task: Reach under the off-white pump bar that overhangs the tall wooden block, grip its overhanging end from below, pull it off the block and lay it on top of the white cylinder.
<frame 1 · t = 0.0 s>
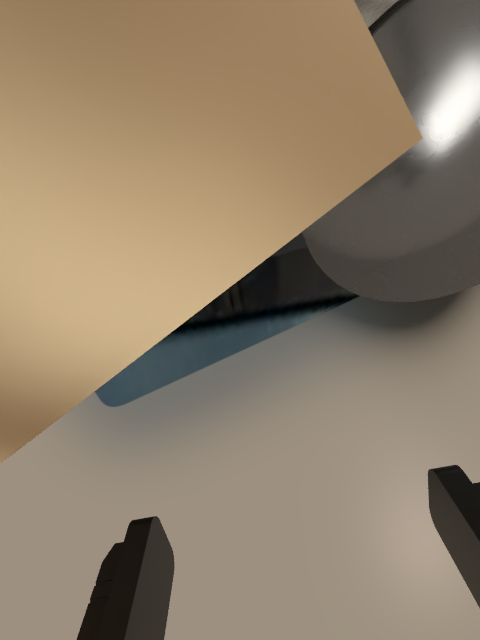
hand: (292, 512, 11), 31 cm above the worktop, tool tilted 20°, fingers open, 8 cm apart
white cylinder: (320, 67, 30), on the worktop
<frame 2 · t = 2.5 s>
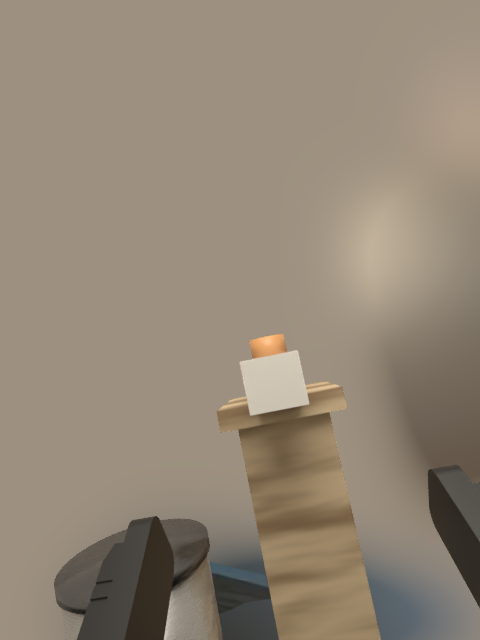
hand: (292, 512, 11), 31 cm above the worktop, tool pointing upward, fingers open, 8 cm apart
pump bar: (278, 397, 37), point 32 cm above the worktop, touching tall wooden block
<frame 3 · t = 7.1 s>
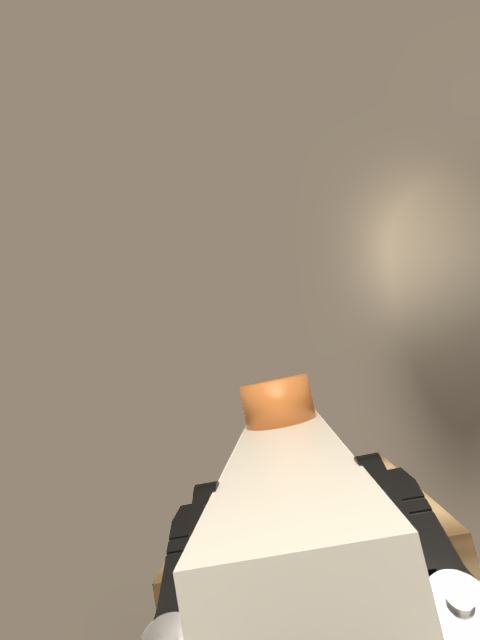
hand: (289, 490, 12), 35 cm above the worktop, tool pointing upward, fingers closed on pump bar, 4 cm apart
pump bar: (302, 534, 16), point 32 cm above the worktop, touching gripper, tall wooden block
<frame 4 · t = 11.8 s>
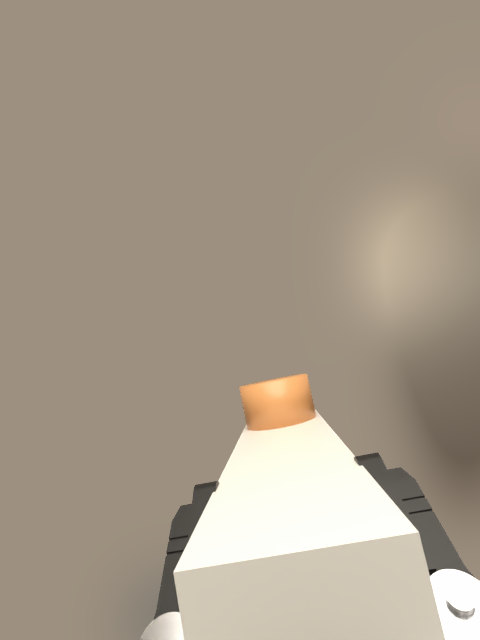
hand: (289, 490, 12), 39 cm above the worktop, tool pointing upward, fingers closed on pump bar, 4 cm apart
pump bar: (302, 534, 16), point 36 cm above the worktop, touching gripper
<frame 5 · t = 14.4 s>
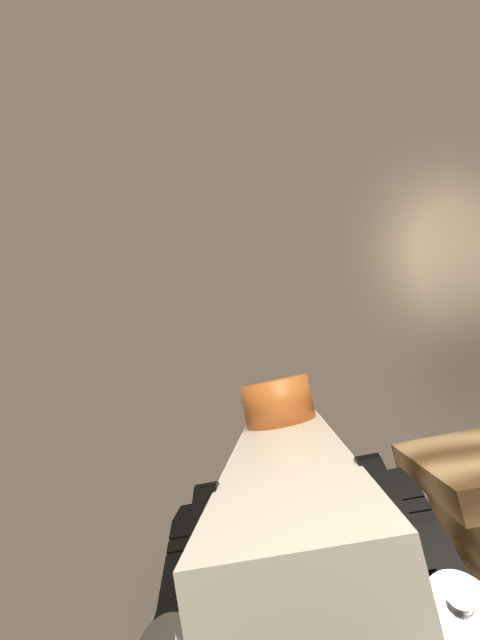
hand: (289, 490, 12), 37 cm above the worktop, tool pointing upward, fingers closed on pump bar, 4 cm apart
pump bar: (302, 534, 16), point 34 cm above the worktop, touching gripper
when the fingers open (27 cm above the worktop, at t = 16.8 s): pump bar drops 2 cm, resting on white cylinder.
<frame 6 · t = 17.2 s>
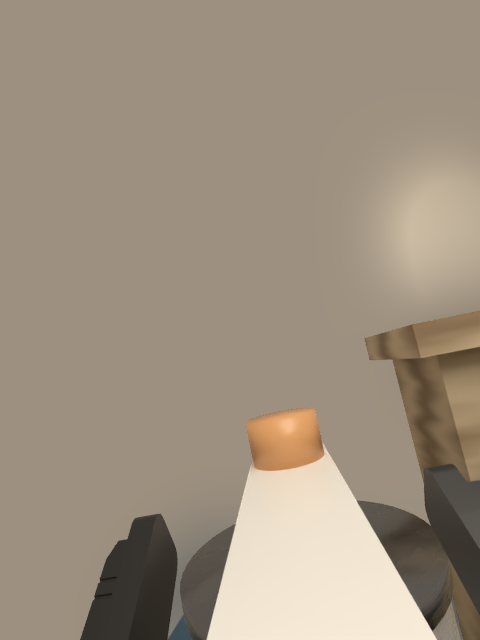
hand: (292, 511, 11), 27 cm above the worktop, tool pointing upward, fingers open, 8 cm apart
pump bar: (313, 588, 15), point 22 cm above the worktop, touching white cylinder
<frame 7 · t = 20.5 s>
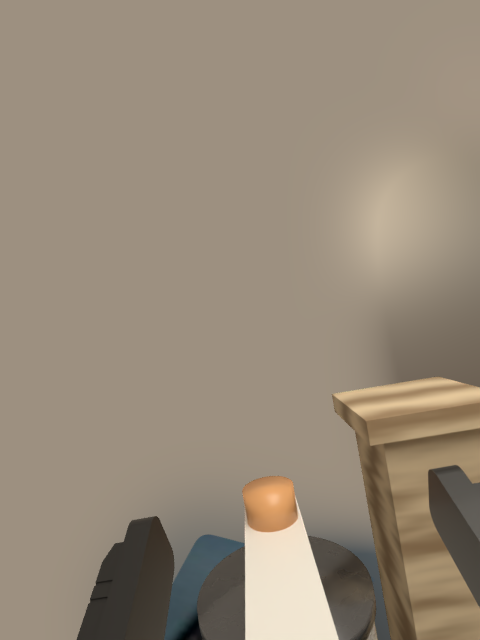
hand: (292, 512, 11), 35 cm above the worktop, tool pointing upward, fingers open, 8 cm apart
pump bar: (288, 619, 24), point 22 cm above the worktop, touching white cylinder
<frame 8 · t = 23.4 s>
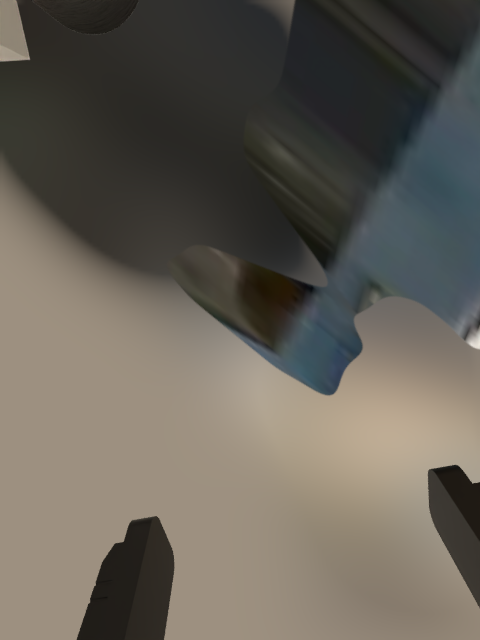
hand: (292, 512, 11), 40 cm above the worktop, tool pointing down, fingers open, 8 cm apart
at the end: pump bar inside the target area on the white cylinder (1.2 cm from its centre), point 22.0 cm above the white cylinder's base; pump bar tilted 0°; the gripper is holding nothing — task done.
